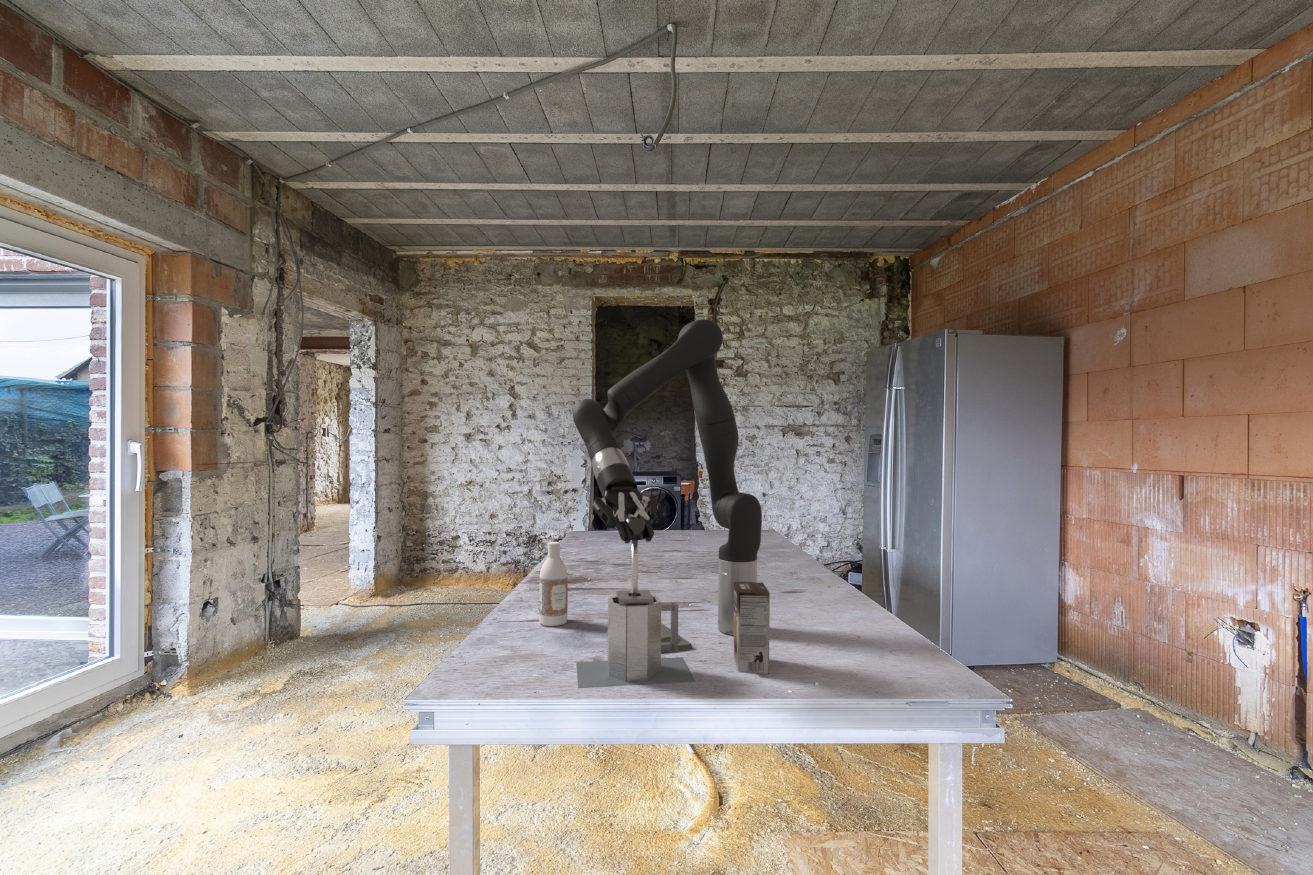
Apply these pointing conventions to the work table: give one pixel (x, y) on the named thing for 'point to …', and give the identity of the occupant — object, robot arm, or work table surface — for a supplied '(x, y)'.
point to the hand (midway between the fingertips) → (639, 539)
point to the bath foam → (553, 589)
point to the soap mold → (666, 637)
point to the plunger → (635, 548)
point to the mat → (599, 677)
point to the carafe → (638, 635)
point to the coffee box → (751, 627)
